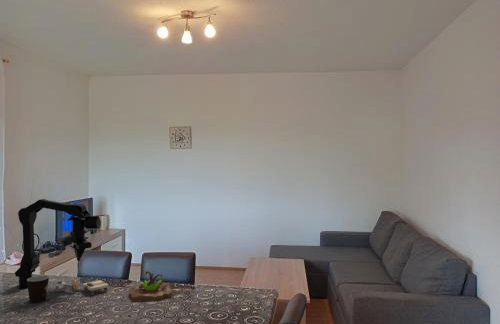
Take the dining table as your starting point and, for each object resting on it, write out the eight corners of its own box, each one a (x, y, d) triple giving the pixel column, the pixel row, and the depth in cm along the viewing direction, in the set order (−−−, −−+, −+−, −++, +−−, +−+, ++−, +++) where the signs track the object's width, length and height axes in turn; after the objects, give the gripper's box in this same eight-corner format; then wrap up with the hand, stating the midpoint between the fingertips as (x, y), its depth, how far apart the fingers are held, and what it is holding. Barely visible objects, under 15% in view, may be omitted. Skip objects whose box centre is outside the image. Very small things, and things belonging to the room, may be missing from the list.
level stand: (69, 290, 177) (69, 280, 177) (95, 284, 186) (95, 275, 186) (80, 298, 166) (80, 287, 166) (108, 291, 175) (108, 281, 175)
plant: (129, 289, 179) (129, 266, 179) (169, 285, 185) (169, 263, 185) (128, 304, 160) (128, 279, 160) (173, 299, 166) (173, 275, 166)
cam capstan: (49, 291, 175) (49, 280, 175) (59, 287, 180) (59, 276, 180) (71, 294, 171) (71, 282, 171) (80, 289, 177) (80, 278, 177)
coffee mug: (38, 305, 159) (38, 282, 159) (21, 303, 160) (22, 280, 161) (57, 295, 170) (58, 274, 170) (41, 294, 172) (42, 273, 172)
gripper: (55, 228, 185) (54, 259, 185) (68, 233, 172) (68, 267, 171) (77, 226, 193) (77, 255, 193) (92, 230, 179) (92, 262, 179)
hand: (78, 260), depth 184 cm, fingers closed
